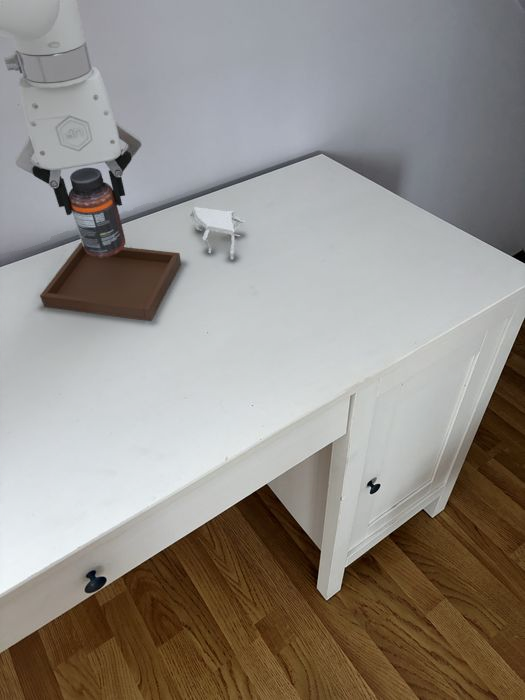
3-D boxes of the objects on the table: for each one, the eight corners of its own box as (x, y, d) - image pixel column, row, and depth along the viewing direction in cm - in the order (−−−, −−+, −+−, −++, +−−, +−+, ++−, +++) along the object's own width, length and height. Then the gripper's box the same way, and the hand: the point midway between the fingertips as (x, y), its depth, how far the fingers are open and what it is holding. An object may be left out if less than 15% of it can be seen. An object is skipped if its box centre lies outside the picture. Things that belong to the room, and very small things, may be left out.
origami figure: (260, 238, 93) (259, 212, 90) (231, 265, 88) (229, 238, 85) (202, 219, 98) (199, 193, 95) (171, 243, 93) (167, 217, 90)
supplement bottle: (105, 231, 84) (87, 159, 76) (135, 243, 81) (119, 170, 73) (75, 251, 80) (52, 177, 72) (105, 264, 78) (84, 190, 70)
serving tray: (44, 307, 82) (39, 295, 81) (84, 253, 92) (80, 242, 90) (151, 321, 80) (148, 309, 78) (181, 264, 89) (179, 252, 87)
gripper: (-27, 84, 59) (28, 232, 72) (137, 63, 62) (162, 207, 75) (-24, 61, 64) (27, 203, 77) (128, 43, 68) (152, 181, 80)
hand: (93, 204), depth 76 cm, fingers closed on supplement bottle, 6 cm apart
